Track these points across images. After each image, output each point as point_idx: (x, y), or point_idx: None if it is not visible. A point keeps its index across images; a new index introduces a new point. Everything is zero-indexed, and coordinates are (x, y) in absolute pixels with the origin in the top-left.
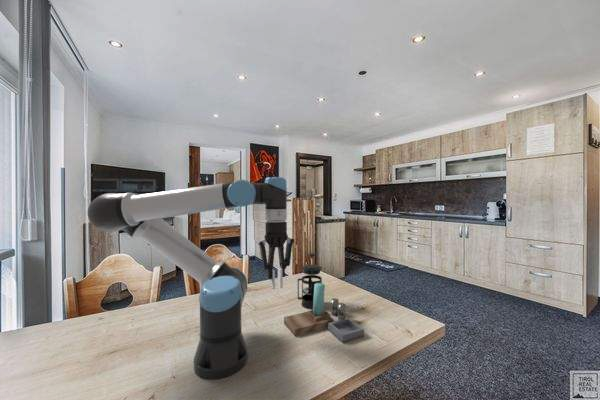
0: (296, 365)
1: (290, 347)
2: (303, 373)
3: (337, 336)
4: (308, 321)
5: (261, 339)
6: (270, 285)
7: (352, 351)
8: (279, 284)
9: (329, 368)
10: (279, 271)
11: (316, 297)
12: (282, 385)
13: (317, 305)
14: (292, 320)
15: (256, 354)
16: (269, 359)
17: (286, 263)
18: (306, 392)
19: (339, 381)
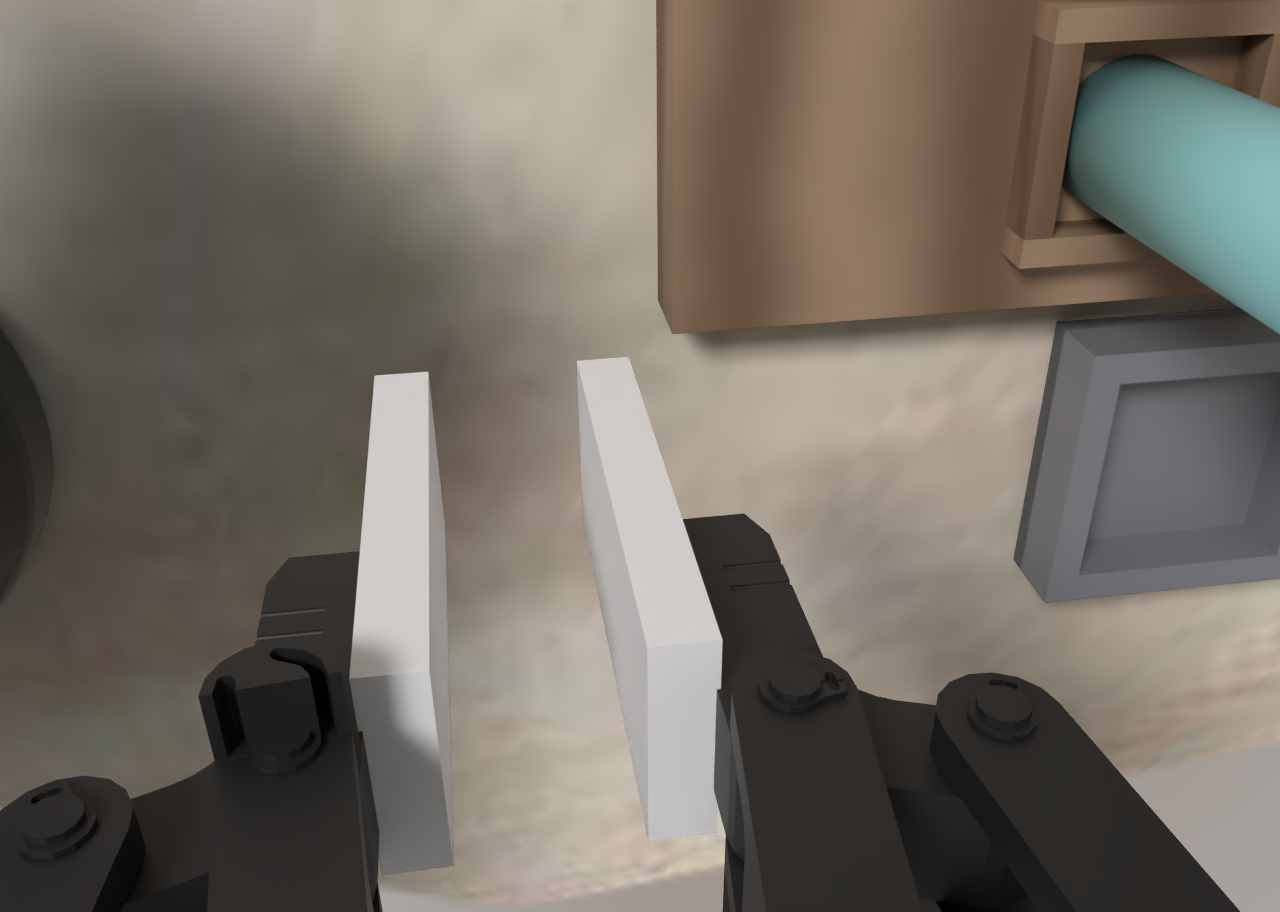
0: (489, 682)
1: (531, 461)
2: (506, 762)
3: (1035, 496)
4: (923, 219)
5: (247, 207)
6: (374, 403)
7: (996, 668)
8: (586, 492)
9: None
10: (633, 714)
11: (1235, 291)
12: None
13: (1168, 257)
14: (746, 102)
15: (155, 451)
16: (277, 555)
17: (931, 903)
18: (456, 889)
19: (699, 868)
